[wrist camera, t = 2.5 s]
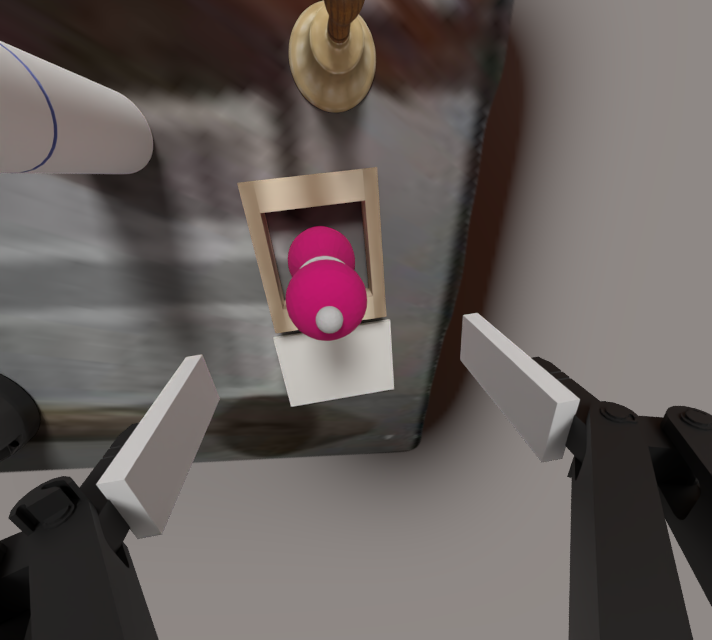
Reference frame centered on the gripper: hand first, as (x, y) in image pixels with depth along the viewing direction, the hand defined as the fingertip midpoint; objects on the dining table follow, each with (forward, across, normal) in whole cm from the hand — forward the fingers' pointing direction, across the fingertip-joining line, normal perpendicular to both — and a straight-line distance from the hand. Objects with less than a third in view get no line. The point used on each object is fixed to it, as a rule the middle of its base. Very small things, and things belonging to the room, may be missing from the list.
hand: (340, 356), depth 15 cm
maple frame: (+24, 0, 0) cm, 24 cm away
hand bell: (+24, -4, -18) cm, 30 cm away
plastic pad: (+24, 0, +16) cm, 29 cm away
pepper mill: (+24, 0, 0) cm, 24 cm away
